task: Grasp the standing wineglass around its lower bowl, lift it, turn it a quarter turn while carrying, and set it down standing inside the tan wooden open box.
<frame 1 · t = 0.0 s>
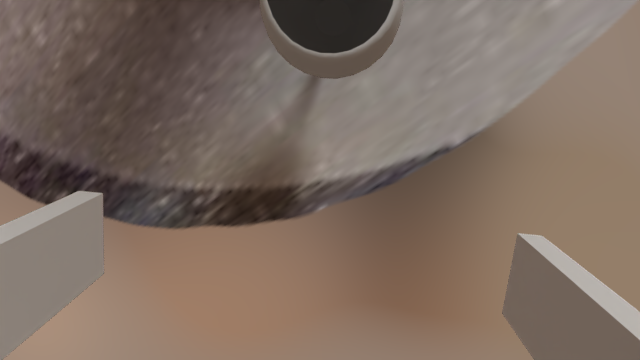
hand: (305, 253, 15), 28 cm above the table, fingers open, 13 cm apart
wineglass: (334, 32, 40), on the table
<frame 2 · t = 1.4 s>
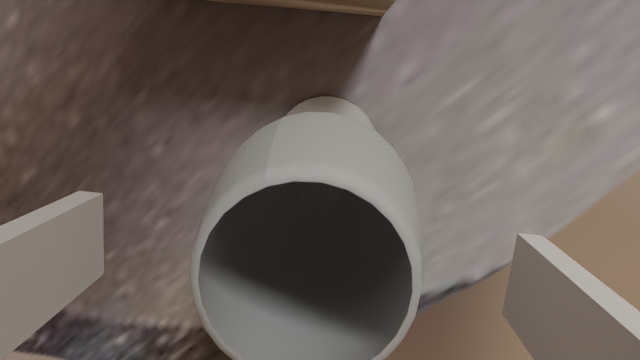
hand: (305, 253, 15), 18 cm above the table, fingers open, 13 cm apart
wineglass: (326, 148, 32), on the table
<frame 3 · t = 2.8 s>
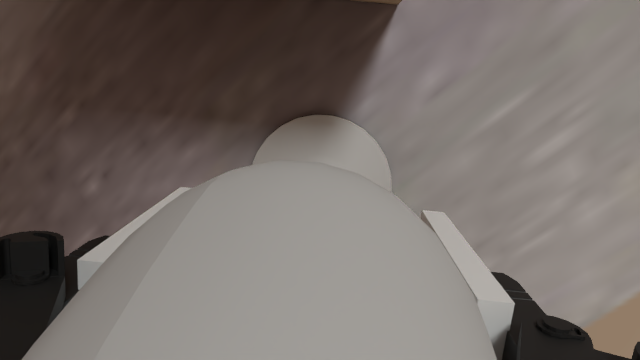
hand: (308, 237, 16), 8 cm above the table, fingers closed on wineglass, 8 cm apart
wineglass: (320, 184, 24), on the table, touching gripper
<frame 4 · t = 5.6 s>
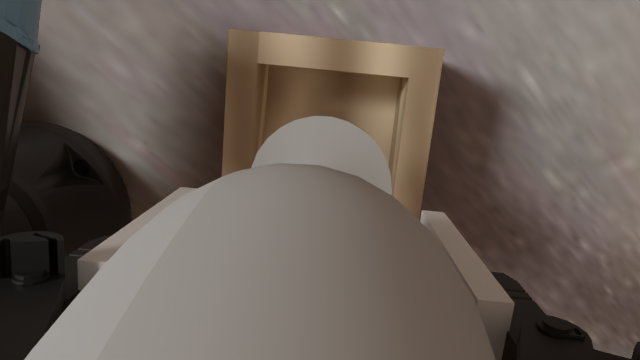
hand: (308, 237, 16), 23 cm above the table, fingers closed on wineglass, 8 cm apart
wineglass: (320, 185, 24), point 15 cm above the table, touching gripper
tan wooden open box: (328, 133, 38), on the table
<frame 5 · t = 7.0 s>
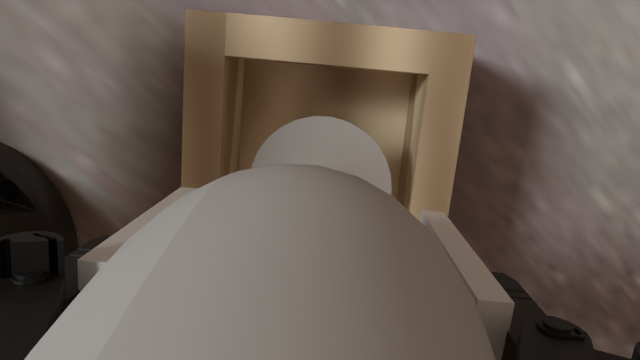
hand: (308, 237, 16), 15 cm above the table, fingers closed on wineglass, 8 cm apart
wineglass: (320, 185, 24), point 7 cm above the table, touching gripper
tan wooden open box: (321, 145, 31), on the table
when the fingers open (11 cm above the table, at t = 8.2 s): wineglass drops 1 cm, resting on tan wooden open box.
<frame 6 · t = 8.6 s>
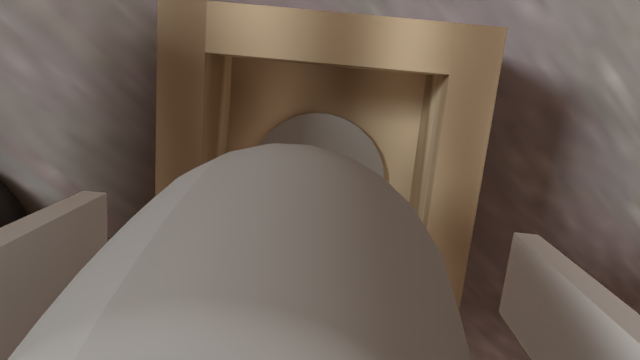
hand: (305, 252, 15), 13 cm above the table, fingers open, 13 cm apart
wineglass: (317, 179, 25), point 2 cm above the table, touching tan wooden open box
tan wooden open box: (321, 155, 27), on the table
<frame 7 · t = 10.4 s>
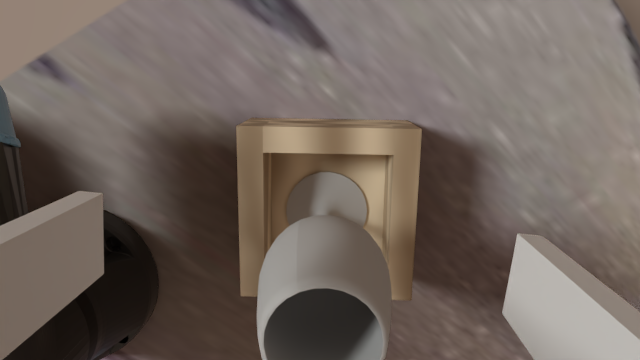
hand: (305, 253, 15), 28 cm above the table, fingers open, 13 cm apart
wineglass: (326, 210, 42), point 2 cm above the table, touching tan wooden open box
tan wooden open box: (327, 194, 43), on the table
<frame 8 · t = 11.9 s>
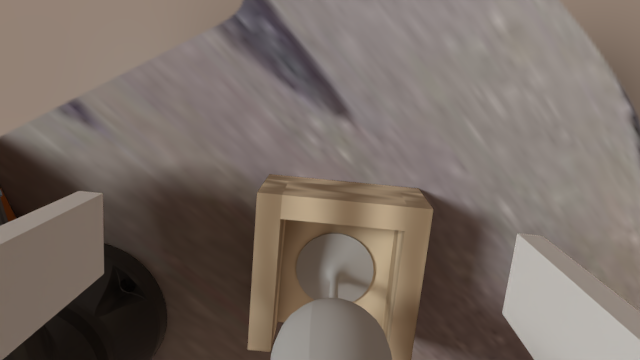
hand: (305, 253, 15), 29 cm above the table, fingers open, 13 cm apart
wineglass: (334, 268, 43), point 2 cm above the table, touching tan wooden open box
tan wooden open box: (336, 251, 45), on the table
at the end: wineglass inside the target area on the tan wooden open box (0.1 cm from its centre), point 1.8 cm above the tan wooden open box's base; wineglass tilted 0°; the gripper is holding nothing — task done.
